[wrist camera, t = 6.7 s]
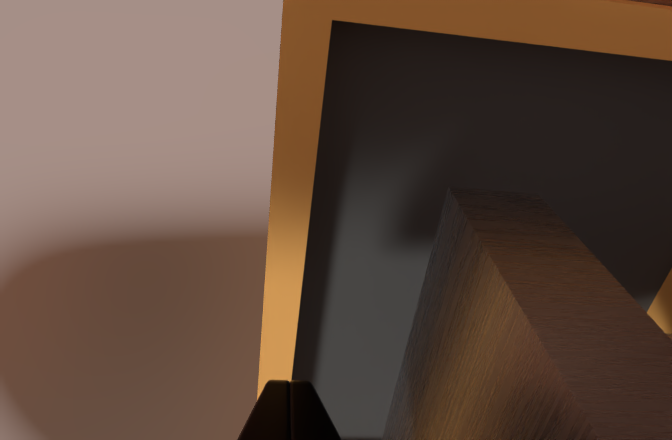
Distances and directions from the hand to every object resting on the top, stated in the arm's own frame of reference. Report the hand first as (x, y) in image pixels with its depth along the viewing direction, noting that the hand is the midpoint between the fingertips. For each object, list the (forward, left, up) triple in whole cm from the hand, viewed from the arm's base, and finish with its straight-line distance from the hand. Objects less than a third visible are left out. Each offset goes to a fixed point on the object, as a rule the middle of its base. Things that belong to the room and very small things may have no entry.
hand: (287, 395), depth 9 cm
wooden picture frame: (0, -5, -4) cm, 6 cm away
